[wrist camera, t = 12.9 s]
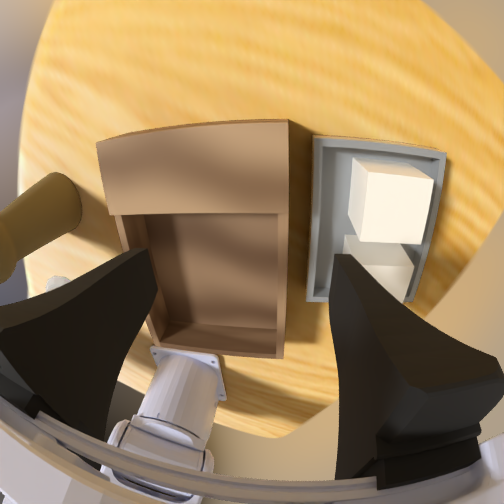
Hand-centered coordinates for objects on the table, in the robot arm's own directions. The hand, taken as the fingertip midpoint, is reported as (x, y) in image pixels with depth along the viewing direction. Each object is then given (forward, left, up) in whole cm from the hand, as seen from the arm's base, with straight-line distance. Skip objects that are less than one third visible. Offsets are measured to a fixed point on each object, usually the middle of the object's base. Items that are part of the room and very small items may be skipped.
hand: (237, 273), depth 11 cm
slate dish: (-2, -8, -10) cm, 13 cm away
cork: (0, +19, -10) cm, 22 cm away
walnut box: (-4, +4, -10) cm, 11 cm away
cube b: (+1, -8, -9) cm, 12 cm away
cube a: (-5, -8, -9) cm, 13 cm away
